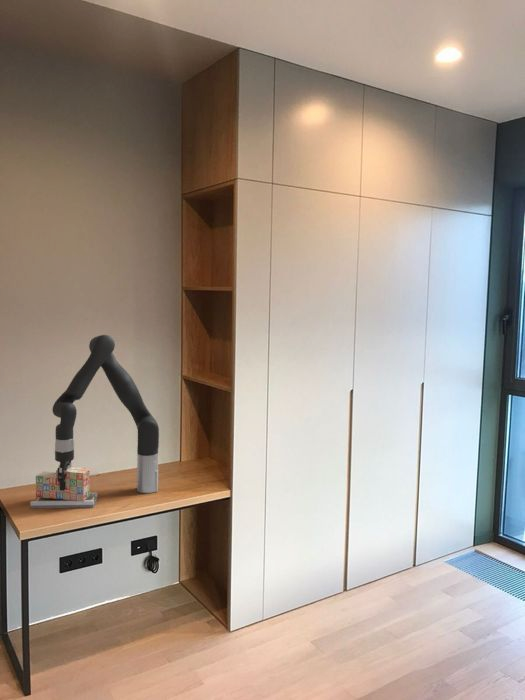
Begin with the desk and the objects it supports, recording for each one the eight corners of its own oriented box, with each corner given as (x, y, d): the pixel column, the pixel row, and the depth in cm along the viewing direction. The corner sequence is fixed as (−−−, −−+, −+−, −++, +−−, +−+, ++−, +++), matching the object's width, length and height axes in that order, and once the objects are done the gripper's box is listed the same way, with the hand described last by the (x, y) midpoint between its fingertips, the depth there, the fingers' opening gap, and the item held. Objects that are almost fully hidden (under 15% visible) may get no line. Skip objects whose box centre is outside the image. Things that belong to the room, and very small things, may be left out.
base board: (97, 498, 244) (97, 492, 244) (93, 507, 234) (93, 501, 234) (37, 499, 241) (37, 493, 241) (30, 508, 231) (30, 502, 231)
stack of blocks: (35, 497, 236) (35, 468, 235) (43, 492, 242) (43, 464, 241) (83, 501, 233) (83, 472, 232) (90, 496, 239) (90, 468, 238)
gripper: (59, 444, 242) (59, 481, 244) (50, 453, 228) (50, 493, 230) (77, 444, 243) (77, 481, 245) (69, 453, 229) (69, 493, 230)
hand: (64, 486), depth 237 cm, fingers closed on stack of blocks, 7 cm apart
